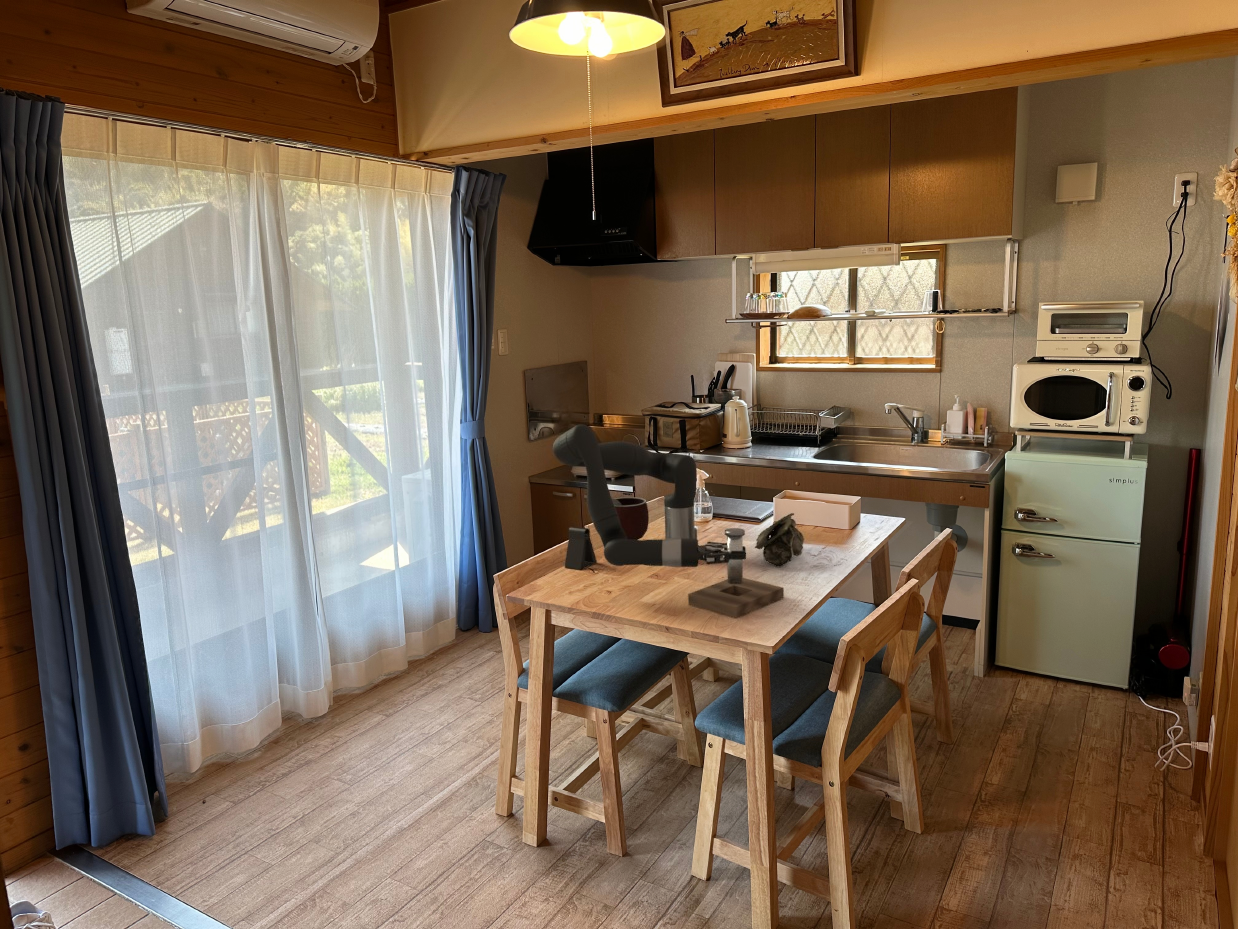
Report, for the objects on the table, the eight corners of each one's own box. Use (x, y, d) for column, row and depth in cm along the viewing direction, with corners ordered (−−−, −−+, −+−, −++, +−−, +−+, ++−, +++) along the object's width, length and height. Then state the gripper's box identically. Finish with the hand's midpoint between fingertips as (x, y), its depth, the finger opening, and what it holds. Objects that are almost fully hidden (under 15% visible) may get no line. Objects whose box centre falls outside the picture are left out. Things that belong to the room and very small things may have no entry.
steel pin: (733, 578, 230) (733, 527, 228) (749, 581, 226) (748, 530, 224) (721, 582, 227) (720, 530, 224) (736, 586, 223) (736, 534, 220)
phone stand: (580, 570, 261) (578, 532, 259) (564, 568, 264) (562, 530, 262) (597, 562, 269) (595, 525, 266) (581, 560, 272) (579, 523, 270)
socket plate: (736, 586, 240) (736, 576, 239) (783, 598, 229) (783, 587, 228) (688, 604, 226) (688, 594, 226) (736, 618, 215) (736, 607, 215)
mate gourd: (625, 545, 287) (622, 486, 284) (658, 551, 279) (656, 490, 275) (594, 556, 276) (592, 495, 272) (628, 562, 267) (626, 500, 263)
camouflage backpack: (775, 587, 253) (811, 554, 247) (743, 556, 254) (778, 523, 248) (790, 558, 278) (823, 527, 273) (761, 530, 280) (793, 499, 274)
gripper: (678, 546, 219) (746, 546, 217) (681, 532, 233) (744, 532, 231) (679, 574, 220) (746, 574, 218) (681, 558, 234) (745, 559, 232)
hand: (745, 552), depth 225 cm, fingers closed on steel pin, 4 cm apart
